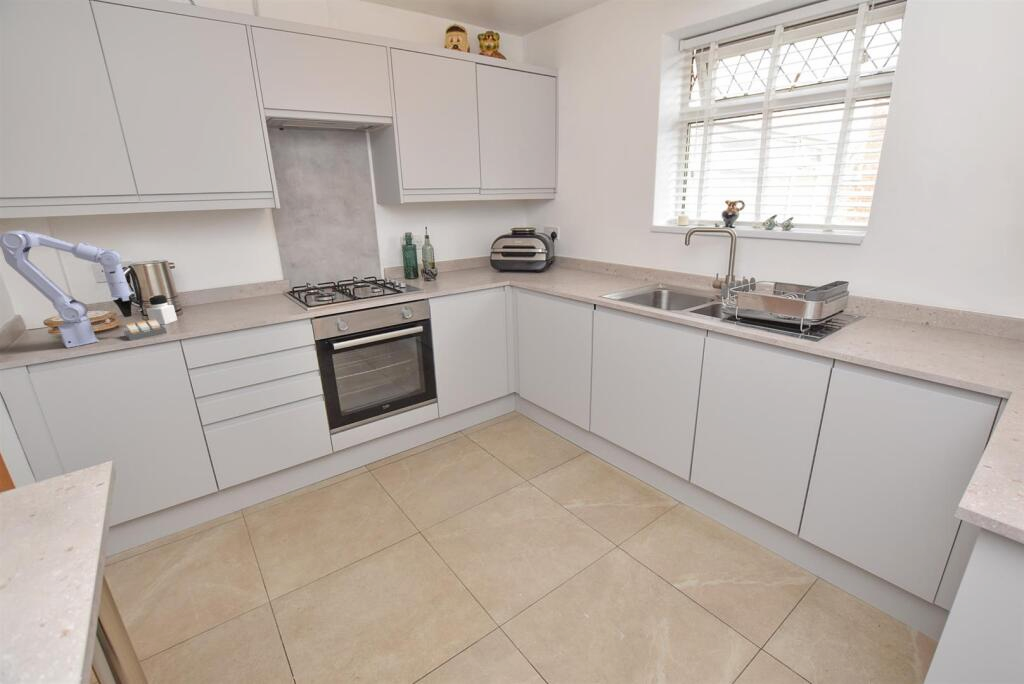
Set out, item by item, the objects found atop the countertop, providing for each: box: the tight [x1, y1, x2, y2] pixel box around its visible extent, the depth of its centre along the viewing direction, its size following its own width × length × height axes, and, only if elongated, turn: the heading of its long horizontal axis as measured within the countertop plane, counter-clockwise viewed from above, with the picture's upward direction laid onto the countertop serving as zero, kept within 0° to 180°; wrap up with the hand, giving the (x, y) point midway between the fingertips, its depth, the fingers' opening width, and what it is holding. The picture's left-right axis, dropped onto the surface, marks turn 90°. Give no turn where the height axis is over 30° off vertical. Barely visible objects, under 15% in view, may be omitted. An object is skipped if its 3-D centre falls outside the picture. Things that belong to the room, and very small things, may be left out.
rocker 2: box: [136, 320, 150, 331], centre depth 188 cm, size 3×6×1 cm, turn 48°
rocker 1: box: [125, 322, 139, 333], centre depth 185 cm, size 3×6×1 cm, turn 48°
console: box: [122, 325, 168, 341], centre depth 189 cm, size 12×10×2 cm
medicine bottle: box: [146, 294, 178, 326], centre depth 205 cm, size 7×7×12 cm
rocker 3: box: [146, 319, 160, 329], centre depth 190 cm, size 3×6×1 cm, turn 48°
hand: (127, 316), depth 186 cm, fingers closed
